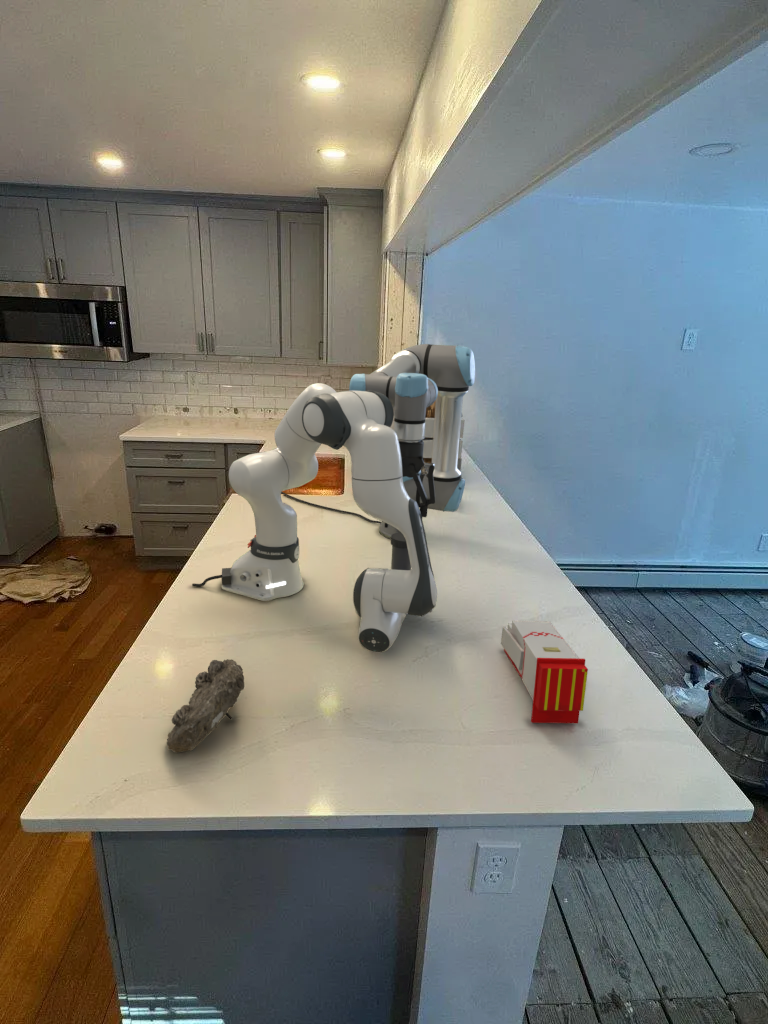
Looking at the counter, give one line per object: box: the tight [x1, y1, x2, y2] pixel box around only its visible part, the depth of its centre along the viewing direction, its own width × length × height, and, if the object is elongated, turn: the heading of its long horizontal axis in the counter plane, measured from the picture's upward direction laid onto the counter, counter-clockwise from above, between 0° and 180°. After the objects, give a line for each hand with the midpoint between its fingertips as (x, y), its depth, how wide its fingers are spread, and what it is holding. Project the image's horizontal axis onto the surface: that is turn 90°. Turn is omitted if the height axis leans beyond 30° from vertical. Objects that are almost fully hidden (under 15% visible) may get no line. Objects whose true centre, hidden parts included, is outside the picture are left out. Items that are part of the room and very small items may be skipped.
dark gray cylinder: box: [390, 545, 412, 570], centre depth 149 cm, size 5×5×19 cm
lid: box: [390, 532, 407, 549], centre depth 146 cm, size 6×6×2 cm
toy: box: [500, 620, 589, 724], centre depth 121 cm, size 12×13×30 cm
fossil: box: [166, 658, 245, 754], centre depth 106 cm, size 22×10×15 cm
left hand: (400, 582), depth 151 cm, fingers closed on dark gray cylinder, 5 cm apart
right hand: (403, 527), depth 145 cm, fingers open, 8 cm apart
